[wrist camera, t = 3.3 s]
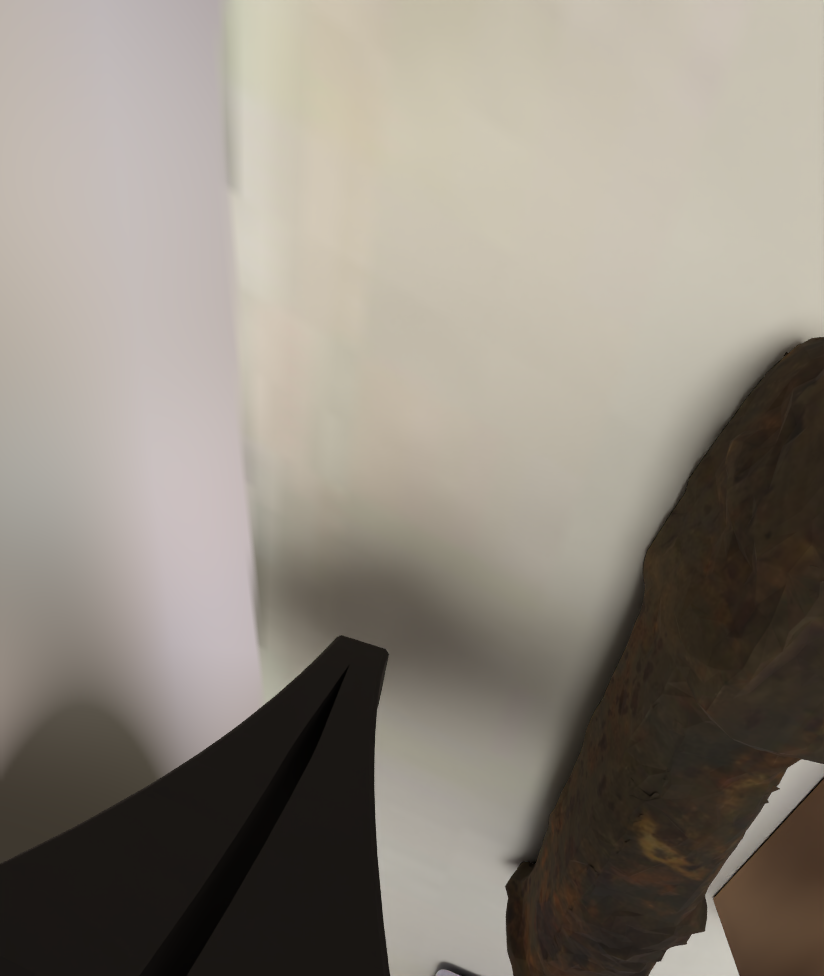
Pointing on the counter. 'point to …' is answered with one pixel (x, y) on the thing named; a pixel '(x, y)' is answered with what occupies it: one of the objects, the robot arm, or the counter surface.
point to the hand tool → (693, 699)
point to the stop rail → (780, 899)
